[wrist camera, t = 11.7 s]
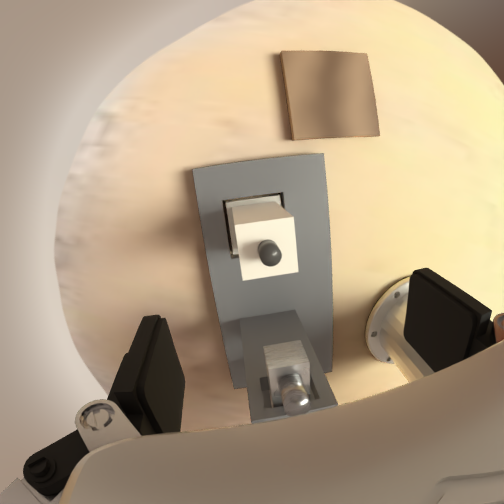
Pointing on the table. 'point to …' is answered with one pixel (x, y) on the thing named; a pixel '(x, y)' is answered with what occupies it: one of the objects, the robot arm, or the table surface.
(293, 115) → the pad
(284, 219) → the plug
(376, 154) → the table surface
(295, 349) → the bolt
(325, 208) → the socket block
